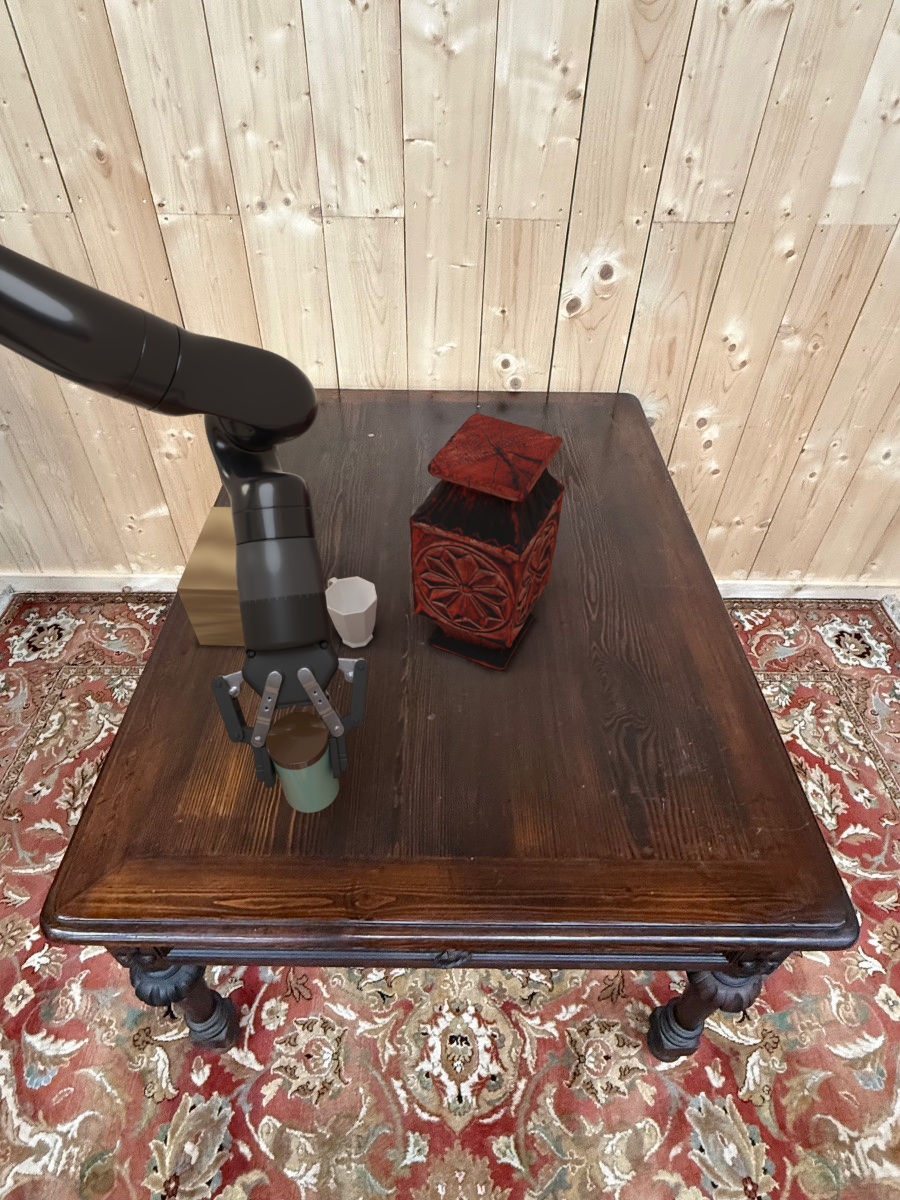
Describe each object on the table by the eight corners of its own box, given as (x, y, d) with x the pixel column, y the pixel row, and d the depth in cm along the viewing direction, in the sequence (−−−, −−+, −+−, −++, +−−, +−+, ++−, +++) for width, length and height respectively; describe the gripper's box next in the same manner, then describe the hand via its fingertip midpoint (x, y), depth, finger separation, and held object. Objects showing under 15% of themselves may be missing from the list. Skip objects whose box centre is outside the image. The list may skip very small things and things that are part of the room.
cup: (347, 664, 91) (339, 623, 85) (312, 617, 97) (302, 577, 91) (392, 640, 94) (388, 599, 88) (356, 597, 99) (349, 555, 94)
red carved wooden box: (508, 687, 88) (524, 501, 66) (414, 650, 93) (400, 464, 71) (547, 615, 97) (574, 429, 75) (460, 584, 101) (460, 400, 79)
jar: (313, 824, 64) (297, 775, 57) (272, 793, 66) (252, 743, 60) (351, 782, 67) (340, 731, 60) (311, 753, 69) (296, 701, 63)
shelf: (266, 646, 93) (248, 589, 85) (200, 645, 93) (176, 588, 85) (289, 564, 104) (275, 507, 96) (230, 563, 104) (211, 506, 96)
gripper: (188, 603, 57) (213, 806, 57) (362, 583, 58) (385, 781, 59) (209, 601, 64) (231, 780, 65) (363, 584, 66) (384, 759, 66)
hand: (305, 779), depth 62 cm, fingers closed on jar, 5 cm apart
